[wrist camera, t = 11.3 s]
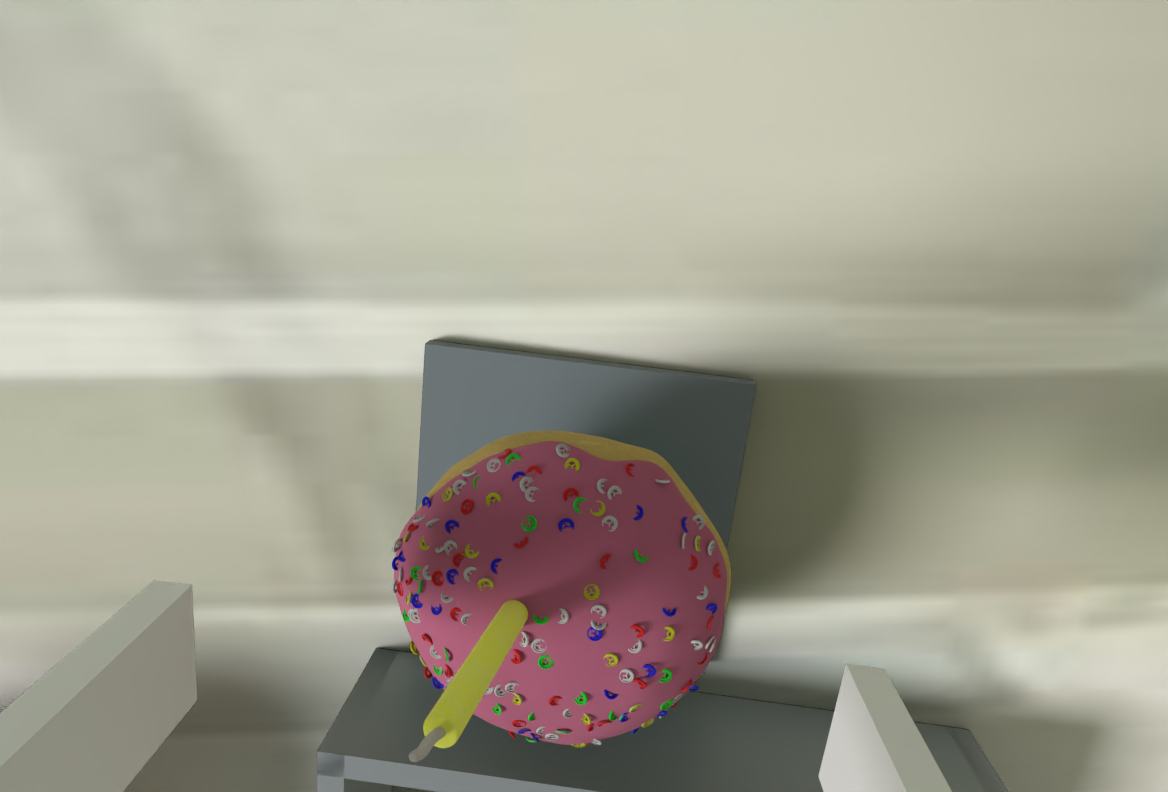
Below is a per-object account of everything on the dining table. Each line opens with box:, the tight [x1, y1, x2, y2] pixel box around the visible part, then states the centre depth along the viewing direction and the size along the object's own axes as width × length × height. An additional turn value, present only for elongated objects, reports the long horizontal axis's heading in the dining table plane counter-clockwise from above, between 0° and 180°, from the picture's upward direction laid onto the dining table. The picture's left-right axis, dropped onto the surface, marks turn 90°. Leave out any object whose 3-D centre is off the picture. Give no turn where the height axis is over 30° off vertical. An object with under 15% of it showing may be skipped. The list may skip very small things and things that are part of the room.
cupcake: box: [392, 430, 731, 762], centre depth 18 cm, size 9×8×12 cm
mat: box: [416, 340, 756, 673], centre depth 24 cm, size 10×10×1 cm
